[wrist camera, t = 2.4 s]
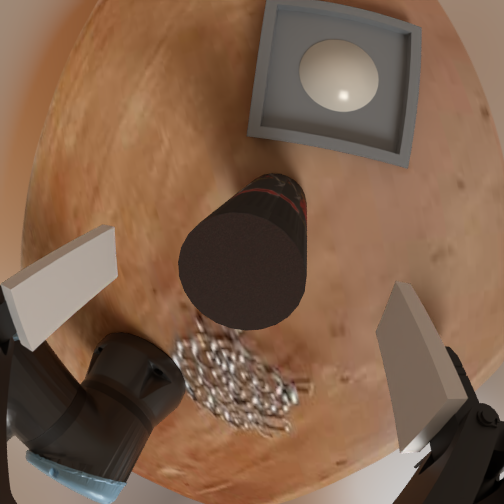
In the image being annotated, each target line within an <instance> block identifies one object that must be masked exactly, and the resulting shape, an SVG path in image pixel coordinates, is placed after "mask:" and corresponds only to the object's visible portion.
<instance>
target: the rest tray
mask: <svg viewBox="0 0 504 504" xmlns="http://www.w3.org/2000/svg"><path fill="white" fill-rule="evenodd" d="M420 68H421V27H419V26H416V25H413V24H410V23H408V22H405V21H402V20H399V19H396V18H392V17H389V16H386V15H382V14H379V13H375V12H371V11H368V10H364V9H360V8H355V7H351V6H346V5H341V4H336V3H330V2H324V1H318V0H266V6H265V12H264V18H263V25H262V31H261V38H260V44H259V51H258V58H257V65H256V72H255V79H254V86H253V93H252V100H251V108H250V115H249V123H248V130H247V136H249V137H257V138H265V139H272V140H279V141H285V142H291V143H297V144H303V145H309V146H314V147H320V148H325V149H330V150H335V151H339V152H344V153H348V154H353V155H357V156H362V157H366V158H370V159H374V160H378V161H382V162H385V163H389V164H393V165H396V166H400V167H404V168H407V169H408V165H409V159H410V154H411V148H412V142H413V135H414V128H415V121H416V113H417V104H418V95H419V83H420Z"/></svg>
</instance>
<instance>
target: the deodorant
mask: <svg viewBox="0 0 504 504" xmlns="http://www.w3.org/2000/svg"><path fill="white" fill-rule="evenodd" d="M178 265H179V277H180V280H181V283H182V286H183V289H184V291H185V293H186V294H187V296H188V297H189V299H190V301H191V302H192V304H193V305H194V306H195V307H196V308H197V309H198V310H199V311H200V312H201V313H202V314H203V315H205V316H207V317H208V318H210V319H211V320H213V321H214V322H216V323H218V324H221V325H224V326H226V327H229V328H233V329H240V330H258V329H264V328H267V327H270V326H273V325H276V324H278V323H279V322H281V321H282V320H284V319H285V318H287V317H288V316H289V315H290V314H291V313H292V312H293V311H294V310H295V309H296V307H297V306H298V305H299V303H300V301H301V298H302V296H303V294H304V292H305V284H306V277H307V203H306V198H305V194H304V192H303V190H302V188H301V187H300V186H299V185H298V184H297V182H296V181H294V180H293V179H291V178H290V177H288V176H285V175H282V174H273V173H271V174H266V175H263V176H261V177H259V178H257V179H255V180H254V181H253V182H251V183H250V184H249V185H247V186H246V187H245V188H243V189H242V190H241V191H239V192H238V193H237V194H236V195H234V196H233V197H232V198H231V199H229V200H228V201H227V202H225V203H224V204H223V205H222V206H220V207H219V208H218V209H217V210H215V211H214V212H213V213H212V214H210V215H209V216H208V217H207V218H205V219H204V220H203V221H202V222H200V223H199V224H198V225H197V226H196V227H195V228H194V229H193V230H192V231H191V232H190V233H189V234H188V236H187V238H186V239H185V241H184V243H183V245H182V247H181V251H180V256H179V261H178Z"/></svg>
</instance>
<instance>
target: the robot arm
mask: <svg viewBox="0 0 504 504" xmlns="http://www.w3.org/2000/svg"><path fill="white" fill-rule="evenodd" d="M117 277H118V272H117V260H116V246H115V227H113V226H108V225H101V226H99V227H97V228H95V229H93V230H91V231H89V232H87V233H86V234H84V235H82V236H80V237H78V238H76V239H74V240H73V241H71V242H69V243H67V244H65V245H63V246H62V247H60V248H58V249H56V250H55V251H53V252H51V253H49V254H48V255H46V256H44V257H43V258H41V259H39V260H37V261H36V262H34V263H33V264H31V265H29V266H28V267H26V268H24V269H23V270H21V271H19V272H18V273H16V274H15V275H13V276H12V277H10V278H8V279H7V280H5V281H4V282H2V283H1V285H0V504H17V503H16V501H15V500H14V498H13V496H12V494H11V490H10V483H9V473H8V462H7V441H8V440H9V439H10V438H11V437H12V436H16V437H17V438H18V439H19V440H21V441H22V442H23V443H24V444H25V445H26V446H27V447H28V448H29V450H27V451H26V459H27V461H28V462H30V463H31V464H32V465H33V466H35V467H36V468H37V469H39V470H40V471H42V472H43V473H45V474H46V475H48V476H49V477H51V478H52V479H54V480H56V481H57V482H59V483H61V484H62V485H64V486H66V487H68V488H69V489H71V490H73V491H75V492H77V493H79V494H81V495H83V496H85V497H87V498H89V499H91V500H93V501H96V502H98V503H102V504H109V503H112V502H114V501H115V500H116V498H117V496H118V495H119V493H120V492H121V490H122V489H123V487H124V486H126V484H127V483H126V481H127V479H128V477H129V475H130V473H131V471H132V469H133V468H134V466H135V464H136V462H137V460H138V458H139V456H140V454H141V452H142V450H143V448H144V446H145V444H146V442H147V440H148V438H149V436H150V434H151V432H152V430H153V428H154V427H155V426H156V425H158V424H159V423H160V422H161V421H162V420H163V419H165V418H166V417H167V416H168V415H169V414H170V413H171V412H173V411H174V410H175V409H176V408H177V407H178V405H179V404H180V402H181V400H182V398H183V396H184V394H185V388H186V387H185V381H184V378H183V376H182V374H181V372H180V370H179V369H178V367H177V366H176V365H175V364H174V362H173V361H172V360H171V359H170V358H169V357H168V356H167V355H166V354H165V353H163V352H162V351H161V350H160V349H158V348H157V347H156V346H154V345H153V344H151V343H149V342H148V341H146V340H144V339H142V338H139V337H137V336H134V335H131V334H127V333H112V334H109V335H107V336H106V337H105V338H104V339H103V340H102V341H101V342H100V343H99V344H98V345H97V347H96V349H95V351H94V353H93V356H92V359H91V362H90V365H89V368H88V371H87V374H86V377H85V379H84V381H83V382H82V383H81V385H80V384H79V383H78V381H77V380H76V379H75V378H74V377H73V375H72V374H71V373H70V372H69V370H68V369H67V368H66V367H65V365H64V364H63V363H62V362H61V360H60V359H59V358H58V356H57V355H56V354H55V352H54V351H53V350H52V348H51V347H50V346H49V344H48V343H47V341H46V339H47V338H48V337H49V336H50V335H51V334H52V333H53V332H54V331H55V330H57V329H58V328H59V327H60V326H61V325H62V324H63V323H64V322H65V321H67V320H68V319H69V318H70V317H71V316H72V315H73V314H74V313H76V312H77V311H78V310H79V309H80V308H81V307H82V306H84V305H85V304H86V303H87V302H88V301H89V300H91V299H92V298H93V297H94V296H95V295H97V294H98V293H99V292H100V291H101V290H102V289H104V288H105V287H106V286H107V285H109V284H110V283H111V282H112V281H113V280H115V279H116V278H117ZM376 335H377V339H378V343H379V347H380V351H381V355H382V359H383V364H384V368H385V372H386V377H387V382H388V386H389V391H390V396H391V401H392V406H393V412H394V417H395V423H396V429H397V435H398V442H399V449H400V453H411V452H420V451H421V450H422V449H423V448H424V447H425V446H426V445H427V444H428V443H429V442H430V446H431V452H429V453H428V454H427V455H426V456H425V457H424V458H423V459H422V460H421V461H420V462H419V463H417V464H416V465H415V466H414V468H417V467H418V466H419V468H418V469H417V471H416V472H415V474H414V475H413V477H412V478H411V480H410V481H409V482H408V484H407V485H406V487H405V488H404V489H403V491H402V492H401V493H400V495H399V496H398V497H397V499H396V500H395V501H394V502H393V504H504V478H503V479H501V480H499V476H500V473H502V472H503V471H504V422H503V421H500V419H499V416H498V414H497V413H496V411H495V410H494V409H493V408H491V406H489V405H487V404H484V403H479V401H478V399H477V397H476V394H475V392H474V389H473V387H472V385H471V383H470V380H469V378H468V376H466V372H465V370H464V368H462V363H461V361H460V359H459V357H458V356H457V355H456V353H455V352H454V351H453V350H452V349H451V348H450V347H446V346H444V344H443V342H442V340H441V338H440V336H439V334H438V332H437V330H436V328H435V326H434V324H433V323H432V321H431V319H430V317H429V315H428V313H427V311H426V310H425V308H424V306H423V304H422V303H421V301H420V299H419V297H418V296H417V294H416V292H415V290H414V289H413V287H412V285H411V284H409V283H404V282H399V281H395V284H394V287H393V290H392V292H391V295H390V298H389V300H388V303H387V305H386V308H385V310H384V313H383V315H382V318H381V320H380V323H379V325H378V327H377V330H376Z"/></svg>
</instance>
